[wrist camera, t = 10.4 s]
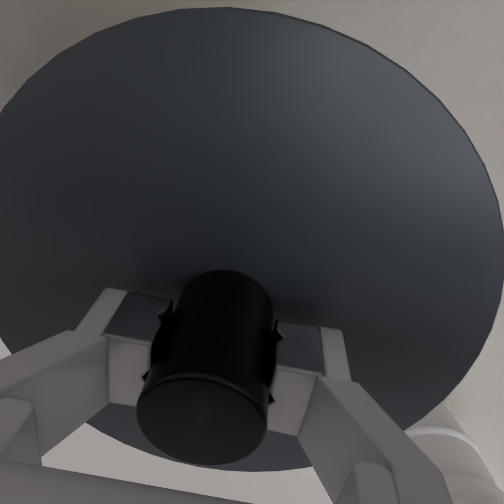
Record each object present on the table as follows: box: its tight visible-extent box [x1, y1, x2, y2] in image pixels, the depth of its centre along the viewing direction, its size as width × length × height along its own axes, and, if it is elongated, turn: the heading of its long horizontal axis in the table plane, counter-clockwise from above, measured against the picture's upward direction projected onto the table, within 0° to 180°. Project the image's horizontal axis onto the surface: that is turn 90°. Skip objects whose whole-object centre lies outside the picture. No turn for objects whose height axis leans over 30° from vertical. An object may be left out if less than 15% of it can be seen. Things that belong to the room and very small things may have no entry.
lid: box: [0, 7, 504, 472], centre depth 9 cm, size 13×13×5 cm
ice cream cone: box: [404, 401, 504, 504], centre depth 24 cm, size 8×8×16 cm
